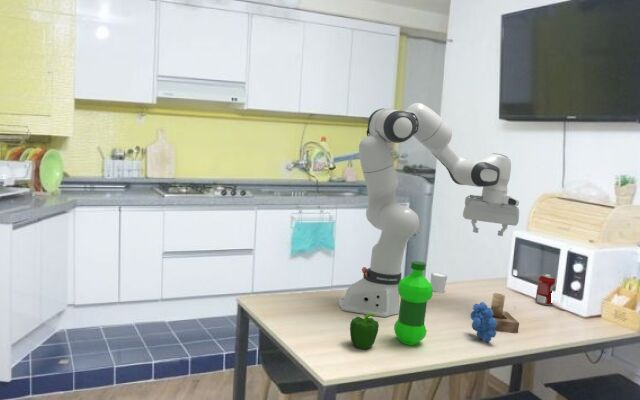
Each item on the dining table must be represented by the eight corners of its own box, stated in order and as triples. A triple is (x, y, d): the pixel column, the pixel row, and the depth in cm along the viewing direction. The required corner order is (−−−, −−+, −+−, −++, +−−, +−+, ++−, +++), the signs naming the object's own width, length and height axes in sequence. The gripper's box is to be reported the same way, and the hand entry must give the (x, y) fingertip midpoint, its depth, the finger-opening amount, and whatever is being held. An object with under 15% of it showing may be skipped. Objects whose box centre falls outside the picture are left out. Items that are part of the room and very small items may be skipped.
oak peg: (490, 326, 191) (495, 296, 190) (486, 322, 196) (491, 292, 194) (502, 327, 192) (507, 297, 190) (498, 323, 196) (502, 293, 194)
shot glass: (447, 291, 232) (449, 275, 231) (442, 294, 226) (444, 277, 225) (432, 287, 236) (434, 271, 235) (426, 290, 230) (428, 274, 229)
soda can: (544, 306, 223) (549, 278, 222) (531, 301, 229) (535, 273, 228) (556, 305, 227) (560, 277, 225) (542, 300, 233) (547, 273, 231)
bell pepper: (348, 350, 157) (352, 316, 156) (347, 339, 166) (351, 307, 164) (377, 353, 157) (381, 319, 156) (374, 342, 166) (378, 310, 164)
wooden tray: (483, 329, 187) (484, 319, 187) (473, 317, 199) (474, 308, 199) (517, 332, 188) (519, 323, 187) (505, 320, 200) (507, 311, 199)
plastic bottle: (421, 336, 174) (431, 260, 171) (428, 349, 164) (439, 268, 161) (389, 333, 174) (399, 257, 171) (395, 346, 163) (405, 265, 160)
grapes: (458, 333, 181) (463, 298, 180) (474, 332, 184) (479, 297, 183) (482, 347, 171) (488, 310, 169) (499, 345, 174) (504, 309, 172)
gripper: (468, 194, 201) (462, 231, 202) (523, 202, 201) (517, 239, 202) (463, 193, 207) (458, 229, 208) (517, 200, 207) (511, 236, 209)
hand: (487, 234), depth 205 cm, fingers open, 8 cm apart
